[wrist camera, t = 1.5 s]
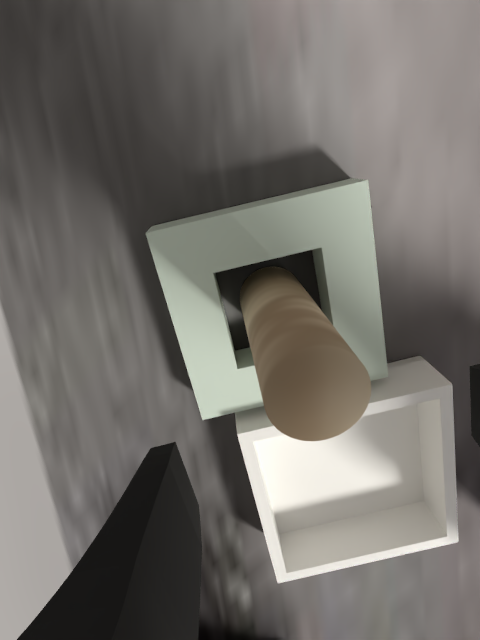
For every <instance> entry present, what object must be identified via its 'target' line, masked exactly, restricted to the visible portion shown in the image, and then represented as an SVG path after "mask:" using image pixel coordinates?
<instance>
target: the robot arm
mask: <svg viewBox="0 0 480 640" xmlns="http://www.w3.org/2000/svg"><path fill="white" fill-rule="evenodd" d="M470 392H471V426H472V436H473V438H474V439H475V441H476V442H477V443H478V445H479V446H480V364H477V365H473V366H470ZM201 560H202V542H201V527H200V514H199V504H198V502H197V499H196V496H195V494H194V491H193V488H192V486H191V483H190V480H189V477H188V475H187V472H186V469H185V467H184V464H183V461H182V459H181V456H180V453H179V450H178V448H177V445H176V442H173V443H170V444H166V445H162V446H158V447H154V448H151V449H150V450H149V452H148V453H147V455H146V457H145V458H144V460H143V462H142V463H141V465H140V467H139V468H138V470H137V472H136V473H135V475H134V477H133V479H132V480H131V482H130V484H129V485H128V487H127V489H126V490H125V492H124V494H123V495H122V497H121V499H120V500H119V502H118V503H117V505H116V507H115V508H114V510H113V511H112V513H111V515H110V516H109V518H108V519H107V521H106V523H105V524H104V526H103V527H102V529H101V530H100V532H99V533H98V535H97V536H96V538H95V539H94V541H93V542H92V544H91V545H90V547H89V548H88V549H87V551H86V552H85V554H84V555H83V557H82V558H81V560H80V561H79V563H78V564H77V565H76V567H75V568H74V569H73V571H72V572H71V574H70V575H69V576H68V578H67V579H66V580H65V581H64V583H63V584H62V585H61V587H60V588H59V589H58V591H57V592H56V593H55V594H54V596H53V597H52V598H51V599H50V601H49V602H48V603H47V604H46V606H45V607H44V608H43V610H42V611H41V612H40V613H39V614H38V616H37V617H36V618H35V619H34V620H33V622H32V623H31V624H30V625H29V626H28V628H27V629H26V630H25V631H24V632H23V633H22V634H21V635H20V637H19V638H18V639H17V640H198V631H199V608H200V586H201Z"/></svg>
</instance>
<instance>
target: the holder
mask: <svg viewBox="0 0 480 640" xmlns="http://www.w3.org/2000/svg"><path fill="white" fill-rule="evenodd" d="M146 237H147V240H148V243H149V246H150V250H151V253H152V256H153V260H154V263H155V266H156V269H157V273H158V276H159V279H160V282H161V286H162V289H163V292H164V296H165V299H166V302H167V305H168V309H169V312H170V315H171V318H172V322H173V325H174V328H175V331H176V335H177V338H178V341H179V345H180V348H181V351H182V354H183V358H184V361H185V364H186V367H187V371H188V374H189V377H190V381H191V384H192V387H193V390H194V394H195V397H196V400H197V403H198V407H199V410H200V413H201V417H202V420H205V419H210V418H214V417H218V416H222V415H227V414H231V413H235V412H239V411H244V410H248V409H252V408H257V407H261V406H264V404H263V400H262V395H261V391H260V387H259V382H258V378H257V374H256V369H255V365H254V361H253V356H252V352H251V348H250V347H249V348H244V349H240V350H236V351H235V349H234V345H233V341H232V337H231V333H230V329H229V325H228V322H227V318H226V314H225V310H224V306H223V302H222V298H221V294H220V290H219V286H218V282H217V278H216V274H215V273H216V272H220V271H224V270H228V269H233V268H237V267H241V266H245V265H249V264H254V263H258V262H262V261H266V260H271V259H275V258H279V257H283V256H287V255H292V254H296V253H300V252H304V251H308V250H312V253H313V259H314V265H315V271H316V278H317V284H318V290H319V296H320V303H321V309H322V312H323V313H324V314H325V316H326V317H327V318H328V320H329V321H330V322H331V324H332V325H333V326H334V327H335V329H336V330H337V331H338V333H339V334H340V335H341V336H342V338H343V339H344V340H345V342H346V343H347V344H348V345H349V347H350V348H351V349H352V351H353V352H354V353H355V354H356V356H357V357H358V358H359V360H360V361H361V362H362V363H363V365H364V366H365V368H366V370H367V371H368V374H369V377H370V381H372V380H376V379H381V378H385V377H388V368H387V358H386V349H385V339H384V329H383V320H382V310H381V300H380V291H379V281H378V271H377V261H376V252H375V242H374V232H373V223H372V213H371V203H370V194H369V184H368V180H363V179H353V178H351V179H347V180H343V181H338V182H334V183H330V184H326V185H322V186H317V187H313V188H309V189H305V190H301V191H296V192H292V193H288V194H284V195H280V196H276V197H271V198H267V199H263V200H259V201H255V202H250V203H246V204H242V205H238V206H234V207H230V208H225V209H221V210H217V211H213V212H209V213H204V214H200V215H196V216H192V217H188V218H183V219H179V220H175V221H171V222H167V223H163V224H158V225H154V226H151V228H150V229H149V230H148V231H147V232H146Z"/></svg>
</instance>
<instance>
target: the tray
mask: <svg viewBox="0 0 480 640" xmlns="http://www.w3.org/2000/svg"><path fill="white" fill-rule="evenodd" d="M387 368H388V377H385V378H381V379H376V380H372V381H371V396H370V400H369V404H368V406H367V408H366V410H365V412H364V414H363V415H362V416H361V418H360V419H359V420H358V421H357V422H356V423H355V424H354V425H353V426H352V427H351V428H350V429H348V430H347V431H345V432H343V433H342V434H340V435H338V436H335V437H333V438H330V439H326V440H321V441H302V440H297V439H294V438H291V437H289V436H287V435H285V434H283V433H281V432H280V431H279V430H278V429H276V427H275V426H274V425H273V424H272V423H271V421H270V420H269V418H268V416H267V414H266V411H265V408H264V406H261V407H257V408H252V409H248V410H244V411H239V412H235V419H236V428H237V436H238V439H239V443H240V447H241V450H242V454H243V458H244V461H245V465H246V469H247V472H248V476H249V480H250V483H251V487H252V491H253V494H254V498H255V502H256V505H257V509H258V513H259V516H260V520H261V524H262V527H263V531H264V534H265V538H266V542H267V545H268V549H269V553H270V556H271V560H272V564H273V567H274V571H275V575H276V578H277V582H278V583H282V582H286V581H290V580H295V579H299V578H304V577H308V576H312V575H317V574H321V573H325V572H330V571H334V570H338V569H343V568H347V567H352V566H356V565H360V564H365V563H369V562H373V561H378V560H382V559H386V558H391V557H395V556H400V555H404V554H408V553H413V552H417V551H421V550H426V549H430V548H434V547H439V546H443V545H448V544H452V543H456V542H458V517H457V491H456V465H455V439H454V412H453V386H452V383H451V382H449V381H448V380H447V379H446V378H445V377H444V376H443V375H442V374H441V373H439V372H438V371H437V370H436V369H435V368H434V367H433V366H432V365H430V364H429V363H428V362H427V361H426V360H425V359H424V358H423V357H422V356H416V357H412V358H408V359H403V360H399V361H395V362H390V363H387Z"/></svg>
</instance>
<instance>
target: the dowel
mask: <svg viewBox="0 0 480 640" xmlns="http://www.w3.org/2000/svg"><path fill="white" fill-rule="evenodd" d="M240 305H241V309H242V313H243V318H244V322H245V326H246V331H247V335H248V339H249V344H250V348H251V352H252V356H253V361H254V365H255V369H256V374H257V378H258V382H259V387H260V391H261V395H262V400H263V404H264V408H265V411H266V414H267V416H268V418H269V420H270V421H271V423H272V424H273V425H274V426H275V427H276V429H278V430H279V431H280V432H281V433H283V434H285V435H287V436H289V437H291V438H294V439H297V440H302V441H321V440H326V439H330V438H333V437H335V436H338V435H340V434H342V433H343V432H345V431H347V430H348V429H350V428H351V427H352V426H353V425H354V424H355V423H356V422H357V421H358V420H359V419H360V418H361V416H362V415H363V414H364V412H365V410H366V408H367V406H368V404H369V400H370V396H371V381H370V377H369V374H368V371H367V370H366V368H365V366H364V365H363V363H362V362H361V361H360V360H359V358H358V357H357V356H356V354H355V353H354V352H353V351H352V349H351V348H350V347H349V345H348V344H347V343H346V342H345V340H344V339H343V338H342V336H341V335H340V334H339V333H338V331H337V330H336V329H335V327H334V326H333V325H332V324H331V322H330V321H329V320H328V318H327V317H326V316H325V314H324V313H323V312H322V311H321V309H320V308H319V307H318V305H317V304H316V303H315V302H314V300H313V299H312V298H311V296H310V295H309V294H308V293H307V291H306V290H305V289H304V287H303V286H302V285H301V284H300V282H299V281H298V280H297V278H296V277H295V276H294V275H293V274H292V273H291V272H289V271H288V270H286V269H283V268H280V267H273V266H272V267H264V268H261V269H259V270H257V271H255V272H253V273H252V274H251V275H250V276H249V277H248V278H247V279H246V280H245V282H244V283H243V285H242V288H241V291H240Z"/></svg>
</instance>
